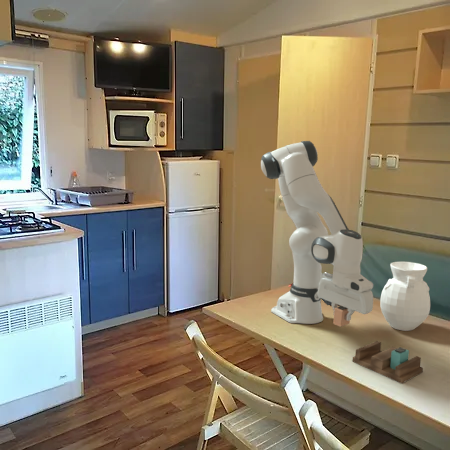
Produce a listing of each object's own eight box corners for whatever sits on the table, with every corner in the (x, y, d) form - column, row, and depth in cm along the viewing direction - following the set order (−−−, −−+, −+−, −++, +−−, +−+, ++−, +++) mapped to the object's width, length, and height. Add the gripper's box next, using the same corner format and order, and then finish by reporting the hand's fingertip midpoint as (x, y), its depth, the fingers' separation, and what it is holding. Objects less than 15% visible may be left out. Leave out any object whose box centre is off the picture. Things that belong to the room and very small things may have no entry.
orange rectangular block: (333, 323, 159) (334, 307, 158) (342, 320, 162) (343, 304, 161) (340, 326, 156) (342, 309, 155) (349, 323, 160) (351, 306, 158)
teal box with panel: (390, 367, 148) (391, 349, 147) (398, 363, 151) (400, 345, 150) (398, 371, 146) (400, 353, 145) (407, 366, 149) (409, 349, 148)
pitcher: (432, 337, 176) (439, 273, 171) (381, 333, 179) (386, 269, 175) (422, 319, 194) (428, 261, 189) (376, 315, 197) (380, 258, 193)
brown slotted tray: (352, 361, 155) (353, 348, 154) (373, 352, 163) (374, 339, 162) (401, 383, 141) (403, 369, 141) (422, 372, 149) (423, 358, 148)
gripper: (315, 272, 162) (312, 309, 165) (366, 288, 147) (361, 330, 149) (327, 269, 166) (323, 306, 169) (377, 285, 150) (373, 325, 153)
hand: (341, 317), depth 159 cm, fingers closed on orange rectangular block, 3 cm apart
